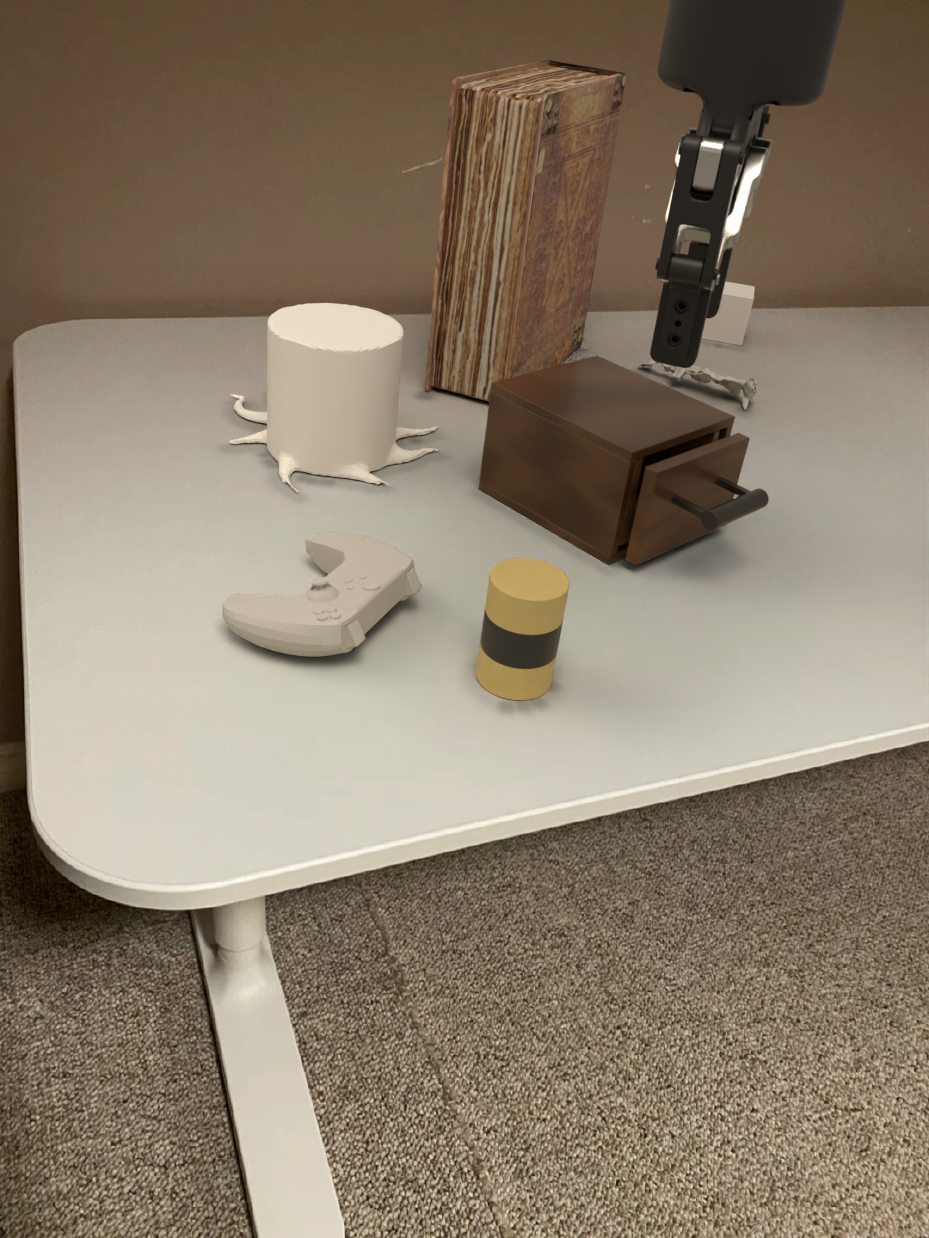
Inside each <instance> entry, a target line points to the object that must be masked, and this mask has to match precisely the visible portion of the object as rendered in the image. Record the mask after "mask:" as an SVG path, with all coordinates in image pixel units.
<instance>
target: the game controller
mask: <svg viewBox="0 0 929 1238" xmlns="http://www.w3.org/2000/svg"><path fill="white" fill-rule="evenodd" d="M305 551H306V553H307V555H308V557H309V558H310V559H311V560H312V562H313V563H314V564H315V565H316V566H317V567H319V569H321V570H322V571H323V572H324V573H326V574H327V575H326V576H318V577H314V578H313V579H312V580H311V586H310V588H308V589H307V591H306V592H305V593H297V594H292V595H281V594H274V593H231V594H229V596H228V597H227V598H226V599H225V600H224V601H223V602H222V604H221V608H222V618H223V620H224V622H225V624H226V625H227V627H229V629H230V630H231V631H233V632H234V633H235V634H236V635H237V636H239V637H241V638H242V639H244V640H246V641H248V642H250V643H252V644H254V645H256V646H258V647H261V648H263V649H266V650H269V651H273V652H276V653H280V654H284V655H291V656H298V657H327V656H333V655H339V654H346V653H350V652H351V651H352V650H353V649H354V648H355V647H356V648H357V647H359V646H360V645H361V644H362V643H363V642H364V641H366V634H367V633H368V632H369V631H370V630H371V629H373V627H374V626H375V625H376V624H377V623H378V622H379V621H381V619H382V618H383V617H384V616H385V615H387V613H388V612H389V611H391V609H392V608H394V607H395V606H396V605H397V604H398V603H399V602H400V601H406V600H407V599H409V598H410V596H414V595H416V594H417V593H418V592H419V591H420V590H422V588H423V586H422V584H421V581H420V579H419V576H418V574H417V570H416V567H415V561H414V560H413V558H412V557H411V556H410V555H409V554H408V553H406V552H405V551H403V550H401V549H399V548H398V547H396V546H394V545H392V544H389V543H387V542H384V541H382V540H379V539H376V538H372V537H370V536H365V535H361V534H357V533H351V532H344V531H323V532H319V533H316V534H314V535H312V536H310V537H309V538H306V539H305Z"/></svg>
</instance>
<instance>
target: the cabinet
mask: <svg viewBox="0 0 929 1238" xmlns="http://www.w3.org/2000/svg"><path fill="white" fill-rule="evenodd" d="M735 419H736V416H735V415H733V414H731V413H728V412H726V411H723V410H721V409H719V408H717V407H714V406H712V405H710V404H708V403H705V402H703V401H701V400H699V399H697V398H694V397H691V396H689V395H687V394H685V393H683V392H681V391H678V390H676V389H674V388H671V387H669V386H667V385H665V384H662V383H660V382H658V381H656V380H653V379H652V378H649V377H647V376H644V375H643V374H640V373H637V372H635V371H633V370H631V369H629V368H626V367H624V366H622V365H619V364H617V363H615V362H613V361H611V360H609V359H606V358H604V357H602V356H599V355H594V356H590V357H585V358H581V359H578V360H574V361H570V362H566V363H561V364H559V365H558V366H554V367H550V368H546V369H542V370H538V371H534V372H531V373H527V374H523V375H519V376H515V377H511V378H507V379H503V380H499V381H495V382H492V383H491V392H490V400H489V402H488V409H487V416H486V425H485V433H484V441H483V447H482V448H483V450H482V458H481V463H480V464H481V466H480V474H479V481H478V490H479V491H481V492H483V493H485V494H486V495H488V496H490V497H492V498H493V499H495V500H497V501H499V502H500V503H502V504H504V505H506V506H507V507H509V508H510V509H512V510H514V511H516V512H517V513H520V515H522V516H524V517H526V518H528V519H529V520H531V521H532V522H534V523H537V524H538V525H539V526H541V527H543V528H545V529H546V530H548V531H550V532H552V533H553V534H554V535H557V536H558V537H560V538H561V539H563V540H565V541H567V542H569V543H570V544H572V545H574V546H576V547H577V548H579V549H580V550H582V551H584V552H586V553H588V554H589V555H591V556H593V557H594V558H596V559H598V560H600V561H601V562H602V563H605V564H606V565H608V566H610V565H612V564H615V563H617V562H619V561H621V560H624V559H626V554H627V549H628V545H629V542H628V543H626V544H624V545H621V546H618V545H619V540H620V535H621V531H622V526H623V521H624V517H625V512H626V507H627V502H628V498H629V493H630V488H631V483H632V479H633V474H634V469H635V465H636V459H639V458H642V457H645V456H648V455H650V454H653V453H656V452H659V451H662V450H664V449H667V448H670V447H673V446H676V445H678V444H681V443H684V442H687V441H690V440H692V439H695V438H698V437H701V436H704V435H707V434H709V433H712V432H715V431H718V430H720V433H719V437H718V440H720V439H723V438H725V437H728V436H731V435H732V430H733V426H734V422H735Z"/></svg>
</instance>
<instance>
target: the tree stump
mask: <svg viewBox="0 0 929 1238" xmlns="http://www.w3.org/2000/svg"><path fill="white" fill-rule="evenodd" d="M266 332H267V333H266V335H267V337H266V338H267V343H266V344H267V345H266V347H267V350H266V351H267V352H266V354H267V355H266V363H267V364H266V366H267V367H266V373H267V374H266V411H255V410H250V409H246V408H244V406H243V404H244V402H245V401H246V397H244V395H239V394H234V393H233V394H229V396H232V397H233V398H236V399H237V400H236V401H235V403H234V404H233V409H234V411H235V412H236V414H237V415H238V416H240V417H242V418H244V419H246V420H248V421H252V422H254V423H261V424H266V428H265V429H263V430H262V431H259V432H254V433H253V434H250V435H247V436H242V437H240V438H235V439H231V440H228V444H229V445H238V444H244V443H246V444H250V443H251V444H252V443H253V444H254V443H255V444H256V443H259V444H261V443H262V444H264V445H265V444H266V447H267V451H268V452H269V454H270V455H271V457H272V458H274V459H275V461H277V464H278V475H279V478H280V479H281V482H282V483H283V484H286V483H287V484H288V485H289V486H291V488H292V489H294V490H295V491H296V492H297V493H299V490H298V489H297V488H295V487H294V486H293V485H292V483H291V481H290V479H291V476H292V473H294V472H302V473H303V472H304V473H307V474H310V475H317V476H323V477H326V476H328V477H333V478H334V477H336V478H343V479H344V478H345V479H349V480H357V481H360V482H365V483H368V484H375V485H380V484H381V485H388V486H390V487H391V486H392V484H390V483H387V482H386V481H385V480H382V479H380V478H379V477H378V476H376V475H374V474H372V473H371V472H375V471H378V470H381V469H383V468H385V467H387V466H390V465H395V464H403V463H409V462H411V461H413V460H416V459H418V458H422V457H423V456H425V455H426V454H428V453H432V452H433V451H436V452H438V451H440V449H439V448H432V447H431V448H429V447H424V448H418V449H413V450H407V449H404V448H401V447H400V446H398V445H397V440H399V439H403V438H406V437H407V438H408V437H415V436H421V435H427V434H430V433H432V432H435V431H436V429H437V428H438V427H440V426H439V425H436V426H433V427H429V428H421V429H420V428H416V429H415V428H410V427H403V426H402V427H400V426H398V416H399V415H398V414H399V403H400V402H399V399H400V390H401V388H400V386H401V377H402V375H401V374H402V361H403V349H404V334H405V332H404V328H403V326H402V325H401V323H399V322H398V321H397V319H395V318H393V317H392V316H390V315H388V314H385V313H383V312H381V311H379V310H376V309H373V308H369V307H361V306H358V305H353V304H352V305H351V304H348V303H347V304H346V303H342V304H341V303H334V302H313V303H308V302H307V303H304V304H303V303H302V304H296V305H293V306H284V307H282V308H279V309H277V310H276V311H275V312H273V313H272V314H270V316H268V320H267V331H266Z"/></svg>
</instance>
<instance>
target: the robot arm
mask: <svg viewBox="0 0 929 1238" xmlns="http://www.w3.org/2000/svg"><path fill="white" fill-rule="evenodd" d="M847 3H848V0H668V5H667V13H666V18H665V24H664V30H663V35H662V41H661V46H660V52H659V59H658V62H657V63H658V64H657V75H658V77H659V80H660V81H661V82H662V83H663V84H664V85H666V86H667V87H669V88H672V89H674V90H677V91H681V92H683V93H692V94H696V95H697V96H698V97H700V100H701V102H702V109H701V112H700V114H699V119H698V124H697V127H692V126H690V127H689V129H688V131H687V133H685V134H682V135H681V136H680V139H679V143H678V146H677V150H676V153H675V158H674V169H675V170H674V171H675V172H674V175H675V178H674V182H673V186H672V189H671V193H670V197H669V200H668V204H667V207H666V211H665V216H664V233H663V239H662V243H661V249H660V253H659V254H660V255H659V257H658V258H656V262H655V267H654V270H655V271H656V279H658V280H660V284H661V283H662V284H663V285H662V288H661V289H662V290H661V293H660V294H661V295H660V298H659V304H658V309H657V313H656V320H655V325H654V329H653V334H652V339H651V345H650V350H649V355H650V358H651V360H654V361H655V362H657V363H662V364H667V365H668V366H671V365H672V366H677V367H679V368H681V369H683V368H689V367H691V366H694V364H695V363H696V361H697V358H698V355H699V352H700V348H701V347H700V346H701V341H702V334H703V329H704V325H705V320H706V318H713V317H714V316H715V315H716V314H717V312H718V310H719V307H720V303H721V299H722V294H723V290H724V285H725V281H726V280H727V277H728V276H727V275H728V272H729V267H730V263H731V260H732V259H731V258H732V254H733V251H734V247H735V246H737V244H738V242H739V240H740V239H741V238H742V234H743V231H744V229H743V225H744V223H745V220H747V219H749V218H750V217H751V215H752V212H753V209H754V206H755V202H756V198H757V195H758V189H759V185H760V183H761V179H763V178H764V175H765V172H766V169H767V166H768V162H769V158H770V154H771V149H772V144H773V139H769V138H764V134H765V130H766V126H767V125H769V123H770V120H771V115H772V113H769V112H770V107H771V105H773V106H777V107H800V106H807V105H811V104H814V103H815V102H817V101H818V100H820V98H821V97H822V96H823V94H824V93H825V90H826V86H827V82H828V78H829V74H830V71H831V67H832V62H833V59H834V54H835V50H836V48H837V47H836V46H837V42H838V38H839V36H840V35H839V34H840V31H841V27H842V23H843V19H844V14H845V10H846V7H847ZM688 241H689V242H690V243H689V247H688V251H687V254H686V253H681V250H682V246H683V244H684V243H685V242H688ZM726 282H727V281H726ZM662 364H661V365H662Z"/></svg>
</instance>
